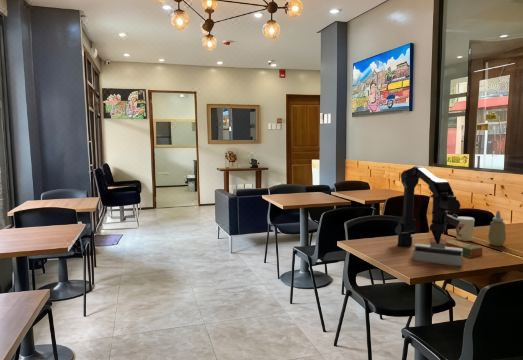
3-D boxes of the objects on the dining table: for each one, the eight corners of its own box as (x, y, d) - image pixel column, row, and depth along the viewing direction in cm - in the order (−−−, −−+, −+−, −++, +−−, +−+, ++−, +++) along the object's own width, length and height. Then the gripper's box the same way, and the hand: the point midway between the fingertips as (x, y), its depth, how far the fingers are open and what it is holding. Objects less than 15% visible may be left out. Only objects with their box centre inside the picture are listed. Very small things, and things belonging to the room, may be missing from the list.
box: (413, 260, 179) (413, 250, 179) (416, 253, 190) (416, 244, 189) (461, 266, 170) (462, 256, 170) (462, 258, 181) (462, 249, 180)
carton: (453, 247, 201) (454, 239, 201) (482, 255, 187) (483, 247, 186) (442, 249, 198) (442, 241, 197) (470, 257, 183) (471, 249, 183)
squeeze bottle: (507, 247, 199) (509, 212, 197) (489, 246, 202) (491, 212, 200) (503, 243, 207) (505, 210, 205) (486, 242, 209) (487, 209, 207)
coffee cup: (452, 237, 221) (452, 216, 220) (468, 237, 221) (469, 216, 220) (459, 241, 212) (460, 219, 211) (477, 241, 212) (478, 219, 210)
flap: (413, 246, 179) (414, 236, 179) (416, 244, 189) (416, 234, 190) (462, 251, 169) (463, 241, 170) (462, 249, 180) (462, 239, 180)
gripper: (459, 213, 162) (457, 250, 163) (459, 207, 179) (458, 240, 180) (430, 211, 167) (428, 246, 169) (433, 205, 184) (432, 237, 185)
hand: (438, 242), depth 175 cm, fingers open, 3 cm apart
